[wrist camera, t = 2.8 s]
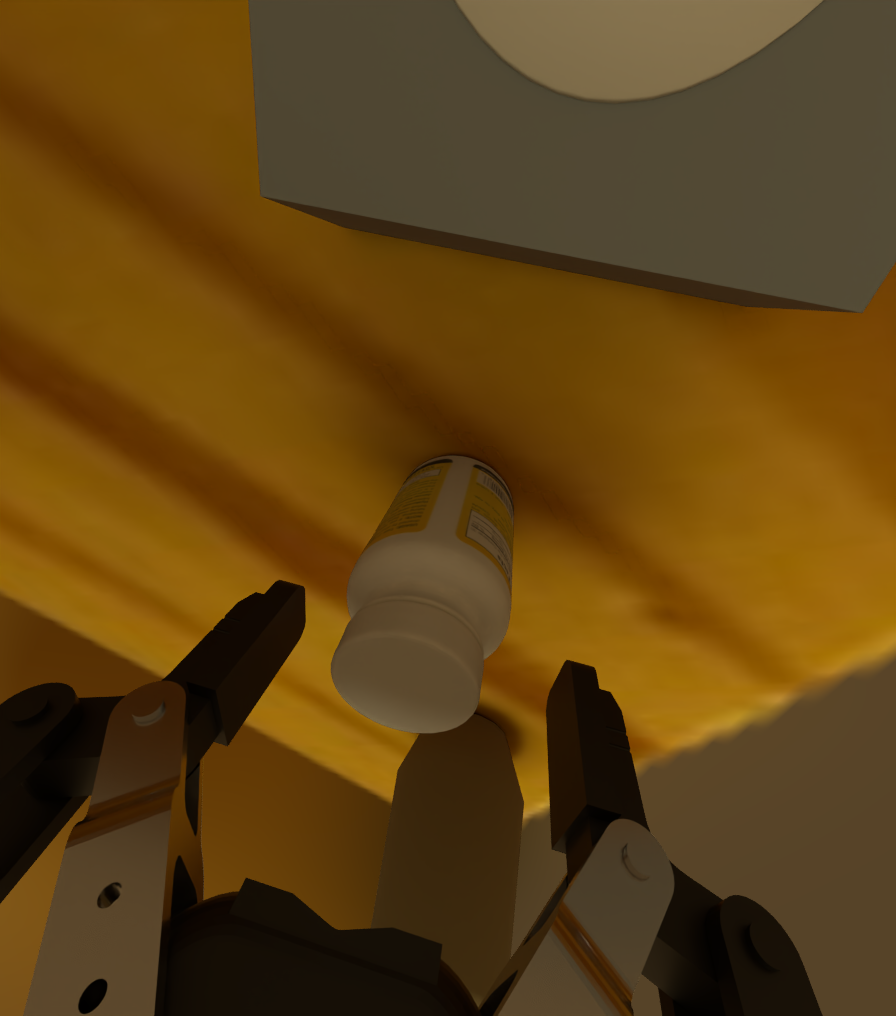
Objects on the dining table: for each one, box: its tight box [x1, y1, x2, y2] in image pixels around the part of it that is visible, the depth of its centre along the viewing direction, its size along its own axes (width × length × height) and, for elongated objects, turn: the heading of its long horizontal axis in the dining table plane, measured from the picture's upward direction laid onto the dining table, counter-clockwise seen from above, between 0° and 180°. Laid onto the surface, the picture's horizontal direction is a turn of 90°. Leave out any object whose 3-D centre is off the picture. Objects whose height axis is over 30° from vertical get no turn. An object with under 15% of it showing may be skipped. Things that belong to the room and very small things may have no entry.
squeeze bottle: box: [371, 714, 524, 1007], centre depth 19 cm, size 8×8×18 cm
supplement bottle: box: [331, 455, 514, 733], centre depth 14 cm, size 5×5×10 cm
